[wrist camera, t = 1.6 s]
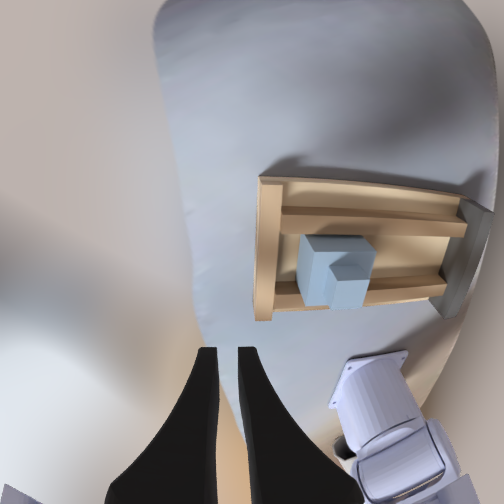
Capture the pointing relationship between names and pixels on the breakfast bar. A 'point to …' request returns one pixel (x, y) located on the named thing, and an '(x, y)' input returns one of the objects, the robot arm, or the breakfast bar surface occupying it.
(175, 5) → the breakfast bar surface
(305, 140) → the breakfast bar surface
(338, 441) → the tube
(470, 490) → the robot arm
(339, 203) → the track
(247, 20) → the breakfast bar surface
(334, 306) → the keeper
